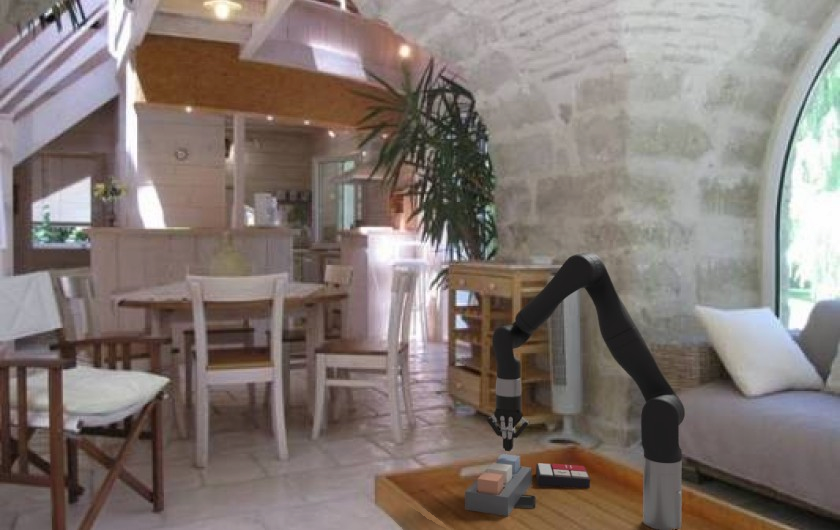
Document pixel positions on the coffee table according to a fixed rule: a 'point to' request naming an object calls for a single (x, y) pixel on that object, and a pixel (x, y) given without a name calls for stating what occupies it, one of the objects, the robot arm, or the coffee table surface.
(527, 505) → the phone
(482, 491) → the terracotta key
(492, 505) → the key panel
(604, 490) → the coffee table surface
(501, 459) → the slate key
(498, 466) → the white key
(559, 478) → the calculator
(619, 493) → the coffee table surface
